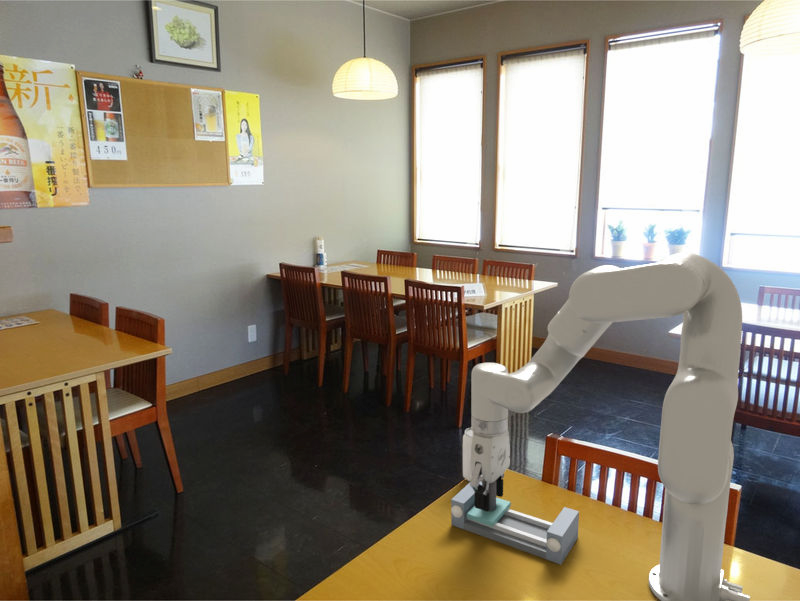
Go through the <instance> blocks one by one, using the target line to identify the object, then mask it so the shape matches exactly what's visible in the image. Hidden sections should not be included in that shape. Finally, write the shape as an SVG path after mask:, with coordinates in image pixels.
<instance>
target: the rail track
mask: <svg viewBox="0 0 800 601" xmlns="http://www.w3.org/2000/svg"><path fill="white" fill-rule="evenodd" d="M479 484H480V485H482V482H481V481H479ZM450 502H451V503H450V504H451V505H450V506H451V509H450V510H451V512H450V513H451V514H450V515H451V516H450V518H451V526H454V527H455V528H458V529H461V530H465V531H467V532H470V533H473V534H476V535H478V536H481V537H484V538H487V539H489V540H492V541H495V542H498V543H500V544H503V545H506V546H508V547H512V548H514V549H516V550H519V551H522V552H524V553H528V554H531V555H534V556H536V557H539V558H542V559H544V560H547V561H550V562H551V563H552V562H553V563H555V564H557V565H560V566H561V565H562V564H563V563H564V561H565V559H566V558H567V556H568V554H569V553H570V551H571V550H572V548H573V546H574V545H575V543H576V541H577V540H578V538H579V518H580V511H579V510H576V509H572V508H569V507H566V506H564V507H563V508H562V510H561V511H560V512H559V513H558V515H557V516H556V518H555V519H554V521H553V522H551V521H548V520H544V519H541V518H539V517H535V516H532V515H530V514H526V513H523V512H520V511H516V510H513V509H510V508H509V509H508V510H507V511H506V512H505V513H504V514H503V516H502V517H501V518H500V519H499V520H498V521H497V522H496V523H495V525H494V526H493V527H492V526H489V525H486V524H483V523H480V522H477V521H475V520H472V519H469V518H467V513H468V512H469V511H470V510H471V509H472V508H473V507H474V506H475V492H474V491H473V488H472V487H471V486H470V482H468V483H467V484H466V485H465V487H463V488H462V489H460V491H459V492H458V493H457V494H456V495H454V496H453V497H452V498H451V499H450Z"/></svg>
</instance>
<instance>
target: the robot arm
mask: <svg viewBox="0 0 800 601" xmlns="http://www.w3.org/2000/svg"><path fill="white" fill-rule="evenodd" d="M681 314H682V318H683V319H682V328H681V333H680V350H679V358H678V359H679V360H678V366H677V371H676V375H675V376H674V378H673V380H672V382H671V384H670V385H669V387H668V388H667V390H666V393H665V394H664V399H663V403H662V410H661V422H660V430H659V432H660V433H659V434H660V435H659V444H658V445H659V446H658V457H657V472H658V476H659V479H660V481H661V484H662V485H663V487H664V488H665V489H664V501H663V503H664V504H663V511H662V512H663V513H662V514H663V515H662V524H661V526H662V528H661V541H660V552H659V564H658V565H656V566H654V567H653V568H651V570H650V572H649V573H648V585H649V588H650V591H651V592H652V593H653V594H654V596H655V597H656V598H657V599H659V601H750V600H751V595H749V594H747V593H743V587H744V586H743V585H740V584H737V583H735V582H734V583H733V582H730V581H728V579H726V578H724V576H725V575H724V574H725V570H724V569H722V564H723V554H724V553H723V552H724V545H725V535H726V534H725V533H726V524H727V518H728V517H727V516H728V510H729V509H728V508H729V507H728V506H729V497H730V487H731V481H732V475H733V467H734V458H735V455H734V445H733V443H732V433H733V425H734V417H735V413H736V409H737V405H738V402H739V372H740V370H739V368H740V358H741V345H742V344H741V343H742V333H743V310H742V302H741V297H740V295H739V292H738V290H737V288H736V286H735V284H734V282H733V281H732V278H730V276H729V275H728V273H726V272H725V270H724V269H723V268H721V267H720V266H719V265H718V264H716V263H714V262H713V261H712V260H710V259H708V258H706V257H703V256H702V255H699V254H696V253H691V252H690V253H689V252H678V253H674V254H670V255H669V256H667V257H664V258H663V259H660V261H658V262H654V263H646V264H641V265H640V264H639V265H635V266H629V267H628V266H627V267H624V268H623V267H621V268H620V267H619V266H616V265H613V264H612V265H611V264H610V265H609V264H603V265H599V266H596V267H594V268H592V269H590V270H587V271H585V272H584V273H582V274H581V275H579V276H578V277H577V278H576V279H575V280H574V281H573V282H572V285H571V286H570V289H569V293H568V299H567V300H566V302H565V303H564V304H563V305H562V306H561V308H560V309H559V310H558V311H557V313H556V314H554V317H552V319H551V320H550V321H549V323H548V325H547V332H548V334H547V337H546V339H545V340H544V342H543V344H542V345H541V346H540V348H539V349H538V350H537V351H536V352H535V353H534V355H533V356H532V357H531V359H529V361H528V362H527V363H526V364H525V365H524V366H521V368H519V369H518V370H516V371H514V372H511V373H509V370H508V368H507V367H506V366H505V365H503V364H501V363H497V362H482V363H477V364H476V365H474V366H473V368H472V370H471V377H470V378H471V383H470V384H471V387H470V388H471V395H470V397H471V398H470V399H471V402H470V403H471V405H470V406H471V409H470V410H471V414H470V415H471V416H470V417H471V420H470V421H471V426H470V428H471V429H472V431H473V437H472V445H471V476H472V478H471V481H470V482H469V483H470V486H471V487H472V488H473V491H474V492H475V508H478V509H481V510H484V511H487V512H488V511H489V509H490V493H488V488H489V483H493V482H494V481H495V480H496V497H498V498H502V497H503V496H504V478H505V472H506V471H507V469H509V467H510V466H511V447H510V446H511V445H510V434H509V411H511V412H514V413H517V414H524V413H528V412H531V411H532V410H533V409H535V407H537V406H538V405H540V404H541V402H542V401H543V400H545V399H546V398H547V397H548V396H550V395H551V393H553V392H554V391H555V389H556V388H557V387H558V386H559V385H560V383H562V381H563V380H564V379H565V378H566V377H567V375H568V374H569V373H570V372H571V371H572V369H573V368H574V367H575V366H576V365H577V363H578V362H579V361H580V360H581V359H582V358H584V357H585V355H586V354H587V353H588V352H589V350H590V349H591V348H592V347H594V345H595V343H596V342H597V341H598V340H599V339H600V337H601V336H602V335H603V334H604V333H605V332H606V330H607V329H608V328H609V327H610V326H611V325H612V324H613V323H619V322H631V321H639V320H651V319H660V318H661V319H662V318H671V317H675V316H679V315H681ZM481 474H482V475H483V477H484V478H483V477H480V476H481ZM479 481H483V482H485V484H484V487H483V486H482V485H480V484H479Z"/></svg>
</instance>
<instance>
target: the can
mask: <svg viewBox="0 0 800 601" xmlns="http://www.w3.org/2000/svg"><path fill="white" fill-rule="evenodd" d="M472 437H473V431H472V429H471V427H468V428H466V429H465V430H464V434H463V435H462V477H463V478H464V480H466V481H467V482H468V483H470V481H471V478H472V476H471V445H472ZM482 476H483V475H482V474H481V476H480V477H482ZM468 478H469V479H468ZM481 482H482V481H481Z"/></svg>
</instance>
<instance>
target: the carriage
mask: <svg viewBox="0 0 800 601" xmlns="http://www.w3.org/2000/svg"><path fill="white" fill-rule="evenodd" d="M482 477H483V476H482ZM483 478H484V477H483ZM484 484H485V482H483V481H482V486H483V487H484ZM488 493H490V509H489V511H488V512H487V511H484V510H481V509H478V508H475V506H474V507H473V508H472V509H471V510H470V511H469V512H468V513H467V518H469V519H472V520H475V521H477V522H480V523H483V524H486V525H489V526H492V527H493V526H494V525H495V523H496V522H497V521H498V520H499V519H500V518H501V517H502V516H503V514H504V513H505V512H506V511H507V510H508V509H510V508H511V506H512V503H511V501H509V500H506V499H503V498H501V497H497V496H496V480H495V481H494V482H493V483H489V488H488Z"/></svg>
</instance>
